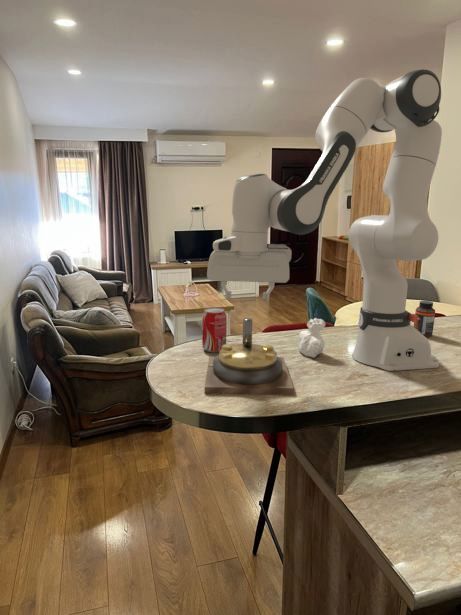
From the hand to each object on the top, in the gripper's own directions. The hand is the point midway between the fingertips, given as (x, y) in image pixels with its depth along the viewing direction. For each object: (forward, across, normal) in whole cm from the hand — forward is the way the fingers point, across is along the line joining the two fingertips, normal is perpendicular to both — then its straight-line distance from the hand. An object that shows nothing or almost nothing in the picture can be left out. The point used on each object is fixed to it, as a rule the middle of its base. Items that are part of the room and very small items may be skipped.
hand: (247, 299), depth 109 cm
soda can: (+19, +8, -15) cm, 25 cm away
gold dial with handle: (+14, -1, +5) cm, 15 cm away
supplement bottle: (+18, -60, -32) cm, 70 cm away
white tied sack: (+18, -20, -13) cm, 30 cm away
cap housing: (+18, -1, +5) cm, 19 cm away
